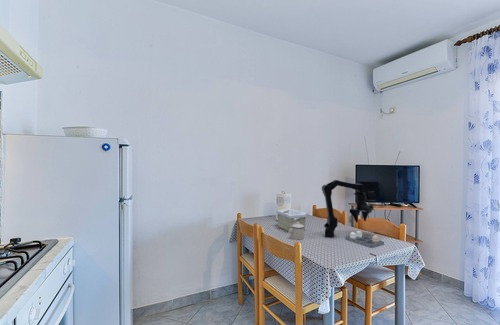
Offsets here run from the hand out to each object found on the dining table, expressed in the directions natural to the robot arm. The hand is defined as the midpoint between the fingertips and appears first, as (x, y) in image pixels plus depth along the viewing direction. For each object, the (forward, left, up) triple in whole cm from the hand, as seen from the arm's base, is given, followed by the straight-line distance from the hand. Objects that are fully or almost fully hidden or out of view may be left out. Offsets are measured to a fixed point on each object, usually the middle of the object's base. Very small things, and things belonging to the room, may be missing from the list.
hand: (360, 221), depth 181 cm
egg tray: (-9, -9, -12) cm, 17 cm away
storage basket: (-29, +46, -12) cm, 56 cm away
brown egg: (-6, -15, -11) cm, 20 cm away
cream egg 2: (-6, -2, -11) cm, 13 cm away
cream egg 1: (-12, -2, -11) cm, 17 cm away
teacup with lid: (-42, +24, -12) cm, 50 cm away
